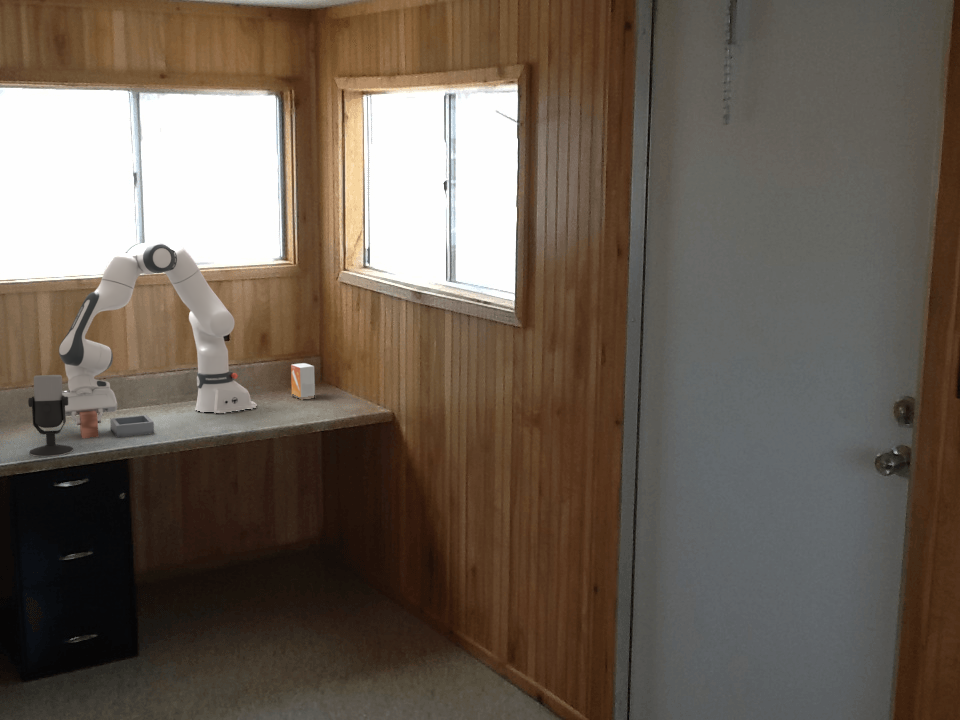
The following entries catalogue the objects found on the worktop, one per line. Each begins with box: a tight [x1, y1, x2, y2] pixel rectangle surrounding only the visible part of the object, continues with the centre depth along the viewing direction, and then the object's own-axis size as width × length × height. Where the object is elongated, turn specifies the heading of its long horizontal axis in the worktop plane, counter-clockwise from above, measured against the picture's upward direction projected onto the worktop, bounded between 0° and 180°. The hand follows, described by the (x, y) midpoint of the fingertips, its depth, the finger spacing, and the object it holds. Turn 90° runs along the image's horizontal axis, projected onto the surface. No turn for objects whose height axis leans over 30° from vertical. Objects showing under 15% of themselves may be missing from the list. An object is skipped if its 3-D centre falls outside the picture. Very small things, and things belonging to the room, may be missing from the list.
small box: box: [290, 362, 316, 397], centre depth 443 cm, size 8×6×13 cm
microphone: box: [27, 374, 74, 457], centre depth 361 cm, size 13×13×25 cm
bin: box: [109, 414, 155, 438], centre depth 389 cm, size 12×12×4 cm
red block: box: [78, 411, 99, 439], centre depth 382 cm, size 5×5×8 cm
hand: (88, 423), depth 382 cm, fingers closed on red block, 5 cm apart
